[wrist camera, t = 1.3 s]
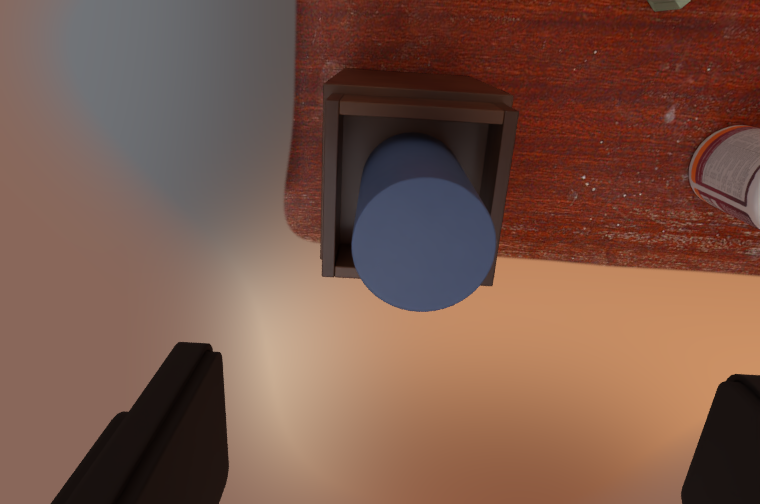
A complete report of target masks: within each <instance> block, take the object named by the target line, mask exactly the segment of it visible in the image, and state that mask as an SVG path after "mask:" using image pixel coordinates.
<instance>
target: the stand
mask: <svg viewBox="0 0 760 504" xmlns="http://www.w3.org/2000/svg"><path fill="white" fill-rule="evenodd" d="M513 97H514V96H513V95H511V94H509V93H507V92H504V91H502V90H500V89H497V88H495V87H493V86H491V85H488V84H486V83H484V82H481V81H479V80H477V79H474V78H472V77H470V76H461V75H445V74H428V73H412V72H396V71H380V70H364V69H348V68H344V69H343V70H342V71H340V72H339V73H338V74H336V75H335V76H334V77H332V78H331V79H330V80H328V81H327V82H326V83H324V85H323V139H322V194H321V250H320V253H321V254H320V259H322V276H323V277H334V276H335V277H342V278H358V279H361V278H360V277H359V275H358V273H357V271H356V268H355V265H354V262H353V257H352V245H351V243H352V234H353V228H354V222H355V215H356V209H357V203H358V197H359V191H360V184H361V178H362V173H363V169H364V166H365V163H366V161H367V159H368V157H369V155H370V154H371V153H372V151H373V150H374V149H375V148H376V147H377V146H378V145H379V144H381V143H382V142H383V141H385V140H387V139H388V138H390V137H393V136H395V135H398V134H402V133H414V132H416V133H423V134H427V135H430V136H432V137H435V138H436V139H438V140H440V141H441V142H442V143H444V144H445V145H446V146H447V147H448V148H449V149H450V150H451V151H452V153H453V154H454V156H455V157H456V159H457V161H458V162H459V164H460V166H461V167H462V169H463V170H464V172H465V174H466V175H467V177H468V179H469V180H470V182H471V184H472V185H473V187H474V189H475V190H476V192H477V194H478V195H479V197H480V198H481V200H482V202H483V203H484V205H485V207H486V208H487V210H488V212H489V214H490V216H491V218H492V221H493V224H494V227H495V232H496V252H495V257H494V261H493V264H492V266H491V269H490V271H489V273H488V275H487V276H486V278H485V279H484V281H483V282H482V284H481V286H492V285H493V279H494V273H495V266H496V260H497V253H498V247H499V240H500V234H501V227H502V220H503V214H504V207H505V201H506V194H507V188H508V181H509V175H510V168H511V162H512V155H513V148H514V142H515V135H516V129H517V122H518V116H519V111H517V110H515V109H513V108H512V104H513Z"/></svg>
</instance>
